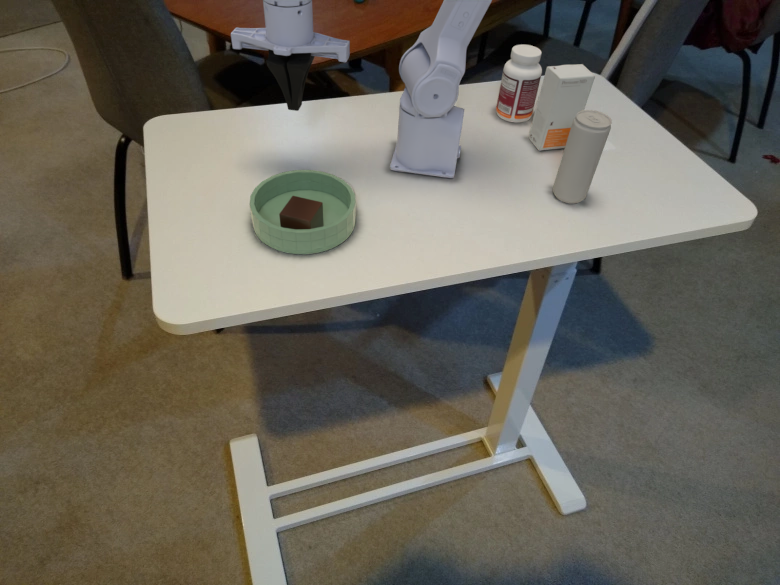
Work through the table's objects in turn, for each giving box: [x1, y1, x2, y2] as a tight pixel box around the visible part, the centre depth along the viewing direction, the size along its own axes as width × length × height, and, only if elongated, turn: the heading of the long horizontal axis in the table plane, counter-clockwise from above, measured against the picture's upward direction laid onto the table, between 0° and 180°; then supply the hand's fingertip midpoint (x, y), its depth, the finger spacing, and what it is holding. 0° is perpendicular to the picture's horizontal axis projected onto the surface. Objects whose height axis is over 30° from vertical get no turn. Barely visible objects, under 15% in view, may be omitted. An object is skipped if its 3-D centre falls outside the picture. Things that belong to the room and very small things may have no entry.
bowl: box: [248, 169, 357, 255], centre depth 73 cm, size 13×13×4 cm
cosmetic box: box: [528, 63, 596, 152], centre depth 87 cm, size 6×4×12 cm
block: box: [279, 196, 324, 229], centre depth 70 cm, size 4×4×4 cm
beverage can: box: [552, 109, 613, 204], centre depth 78 cm, size 5×5×12 cm
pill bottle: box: [495, 44, 543, 123], centre depth 94 cm, size 6×6×11 cm
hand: (295, 106), depth 77 cm, fingers closed
